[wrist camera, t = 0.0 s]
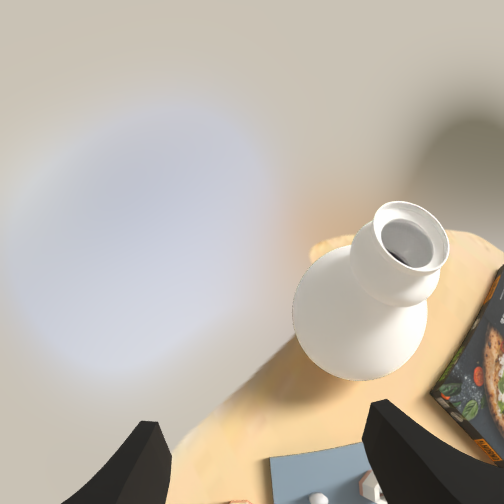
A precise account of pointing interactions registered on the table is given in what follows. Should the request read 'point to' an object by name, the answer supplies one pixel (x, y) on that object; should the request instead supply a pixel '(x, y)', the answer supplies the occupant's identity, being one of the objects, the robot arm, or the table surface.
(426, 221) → the decorative vase
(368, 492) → the seated sleeve
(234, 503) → the sleeve
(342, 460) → the pin board
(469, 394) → the pizza box
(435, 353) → the table surface
